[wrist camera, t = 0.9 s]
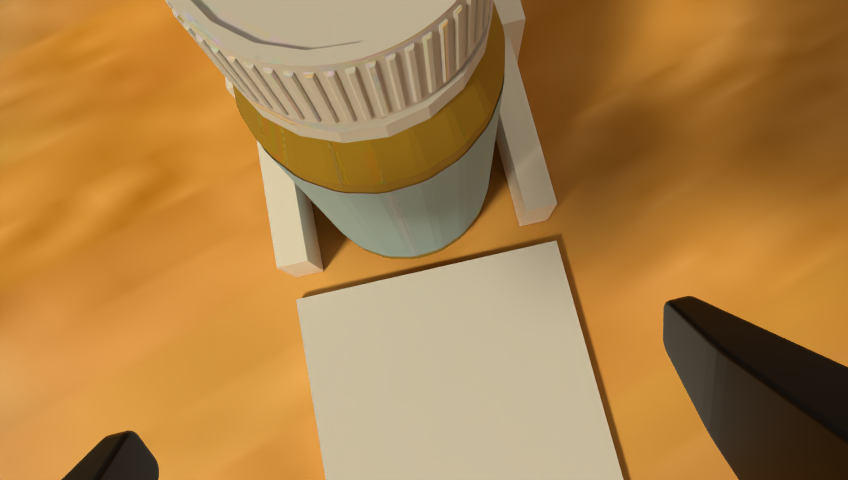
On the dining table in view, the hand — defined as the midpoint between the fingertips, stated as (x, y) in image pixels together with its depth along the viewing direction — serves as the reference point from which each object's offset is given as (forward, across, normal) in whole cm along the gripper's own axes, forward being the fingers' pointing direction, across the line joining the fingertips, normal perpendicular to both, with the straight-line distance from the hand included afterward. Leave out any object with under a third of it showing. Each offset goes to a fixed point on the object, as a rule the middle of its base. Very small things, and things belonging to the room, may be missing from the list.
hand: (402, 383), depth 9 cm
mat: (+8, 0, +10) cm, 13 cm away
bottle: (+15, 0, +4) cm, 16 cm away
